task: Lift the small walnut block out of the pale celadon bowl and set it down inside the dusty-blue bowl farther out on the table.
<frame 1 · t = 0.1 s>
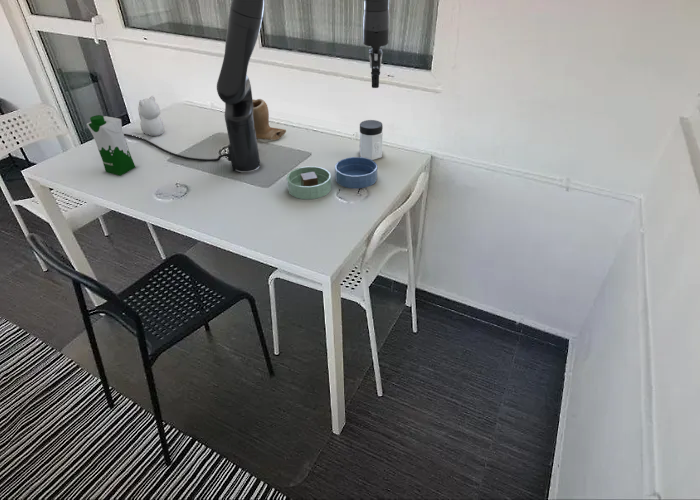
hand: (375, 83, 142), 29 cm above the table, tool pointing down, fingers open, 8 cm apart
blue bowl: (356, 179, 153), on the table
milk carton: (121, 170, 161), on the table
tan boot: (263, 138, 182), on the table
walnut block: (309, 188, 148), point 1 cm above the table, touching celadon bowl
jar: (370, 155, 168), on the table
celadon bowl: (309, 189, 148), on the table
cat figurine: (153, 133, 188), on the table
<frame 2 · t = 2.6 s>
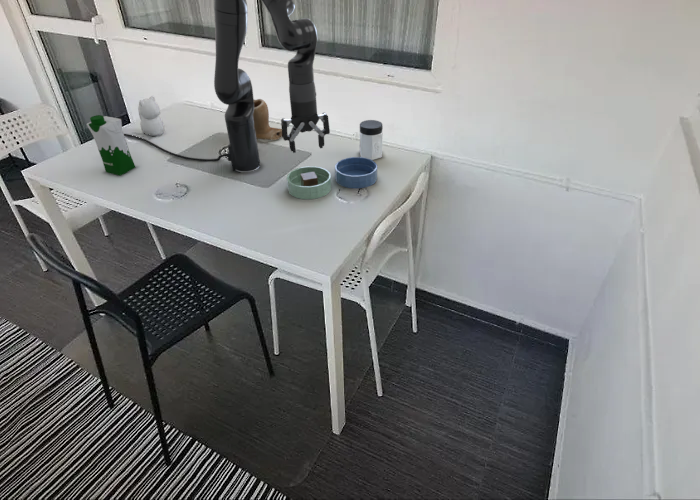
hand: (307, 149, 139), 14 cm above the table, tool pointing down, fingers open, 8 cm apart
nothing on the table moved.
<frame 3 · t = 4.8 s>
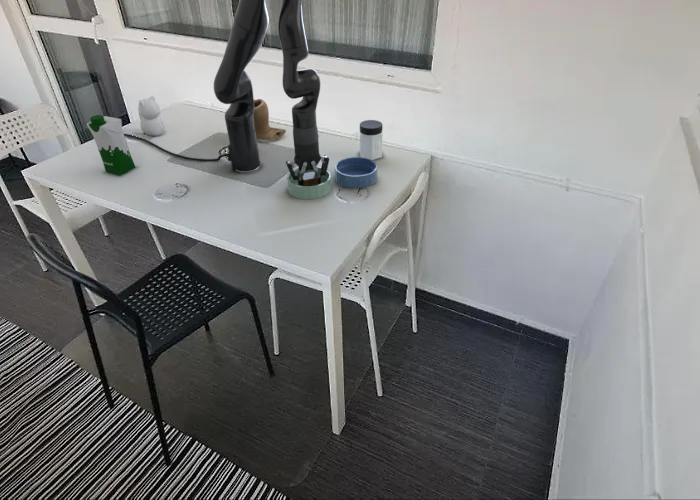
hand: (309, 187, 147), 1 cm above the table, tool pointing down, fingers closed on walnut block, 4 cm apart
walnut block: (309, 188, 148), point 1 cm above the table, touching celadon bowl, gripper
everything else where it was.
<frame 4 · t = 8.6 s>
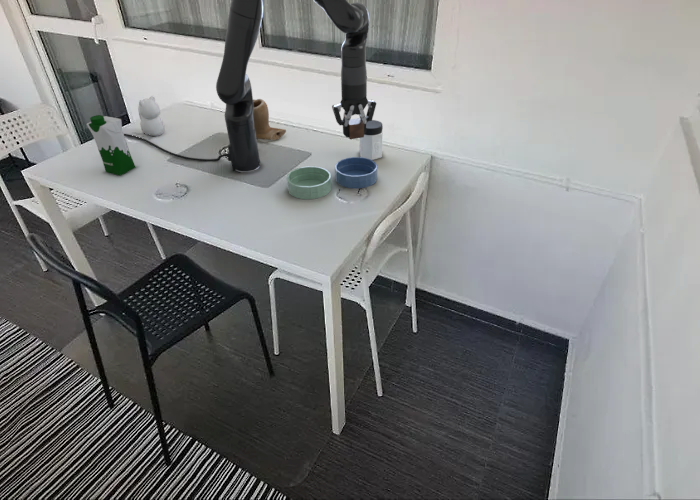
hand: (354, 135, 143), 16 cm above the table, tool pointing down, fingers closed on walnut block, 4 cm apart
walnut block: (354, 135, 143), point 16 cm above the table, touching gripper
everything else where it was.
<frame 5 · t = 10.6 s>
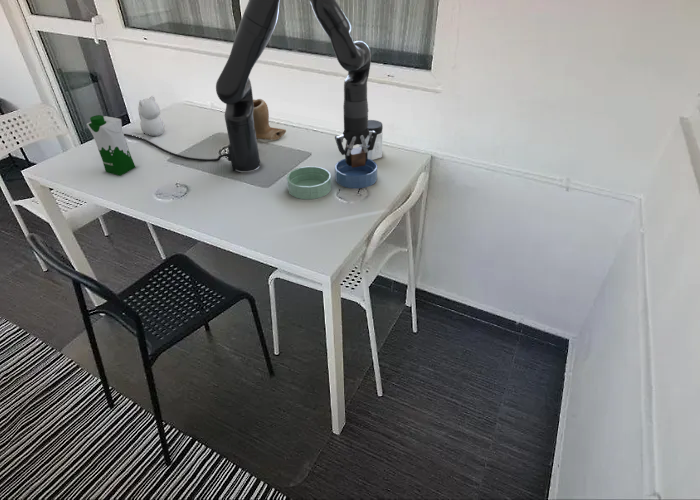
hand: (356, 163, 149), 6 cm above the table, tool pointing down, fingers closed on walnut block, 4 cm apart
walnut block: (356, 163, 149), point 6 cm above the table, touching gripper
everything else where it was.
when the fingers open (1 cm above the table, at t = 12.3 s): walnut block stays where it is, resting on blue bowl.
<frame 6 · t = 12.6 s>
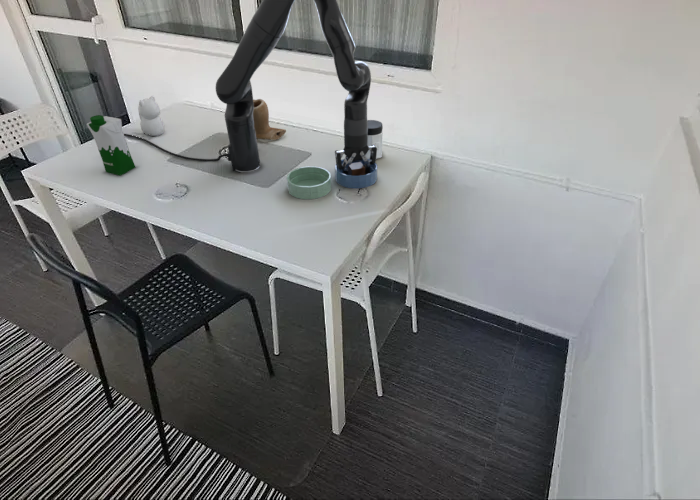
hand: (356, 177, 152), 1 cm above the table, tool pointing down, fingers open, 6 cm apart
walnut block: (356, 178, 153), point 1 cm above the table, touching blue bowl
everything else where it was.
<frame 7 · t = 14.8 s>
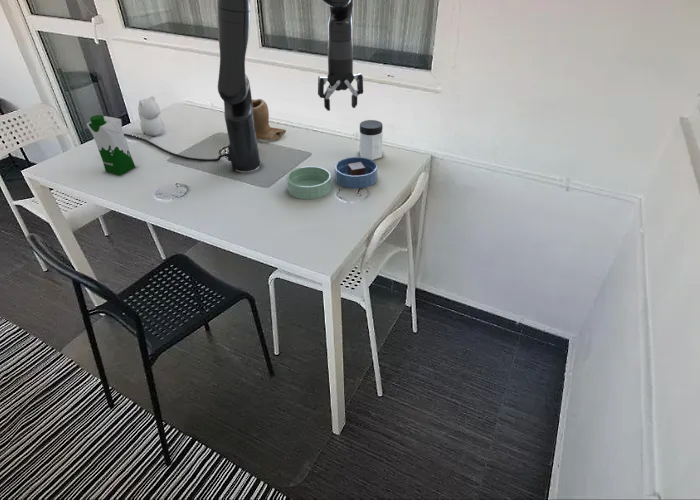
hand: (340, 108, 146), 22 cm above the table, tool pointing down, fingers open, 8 cm apart
nothing on the table moved.
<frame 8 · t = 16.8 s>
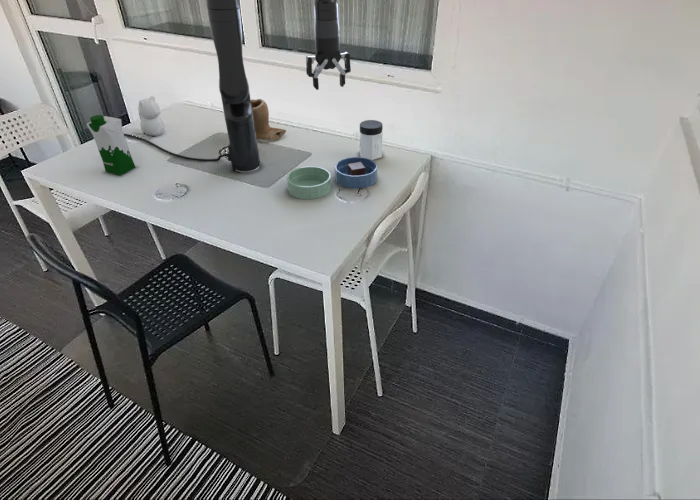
hand: (329, 87, 149), 26 cm above the table, tool pointing down, fingers open, 8 cm apart
nothing on the table moved.
at the end: walnut block inside the target area in the blue bowl (0.1 cm from its centre), point 0.6 cm above the blue bowl's base; the gripper is holding nothing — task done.
